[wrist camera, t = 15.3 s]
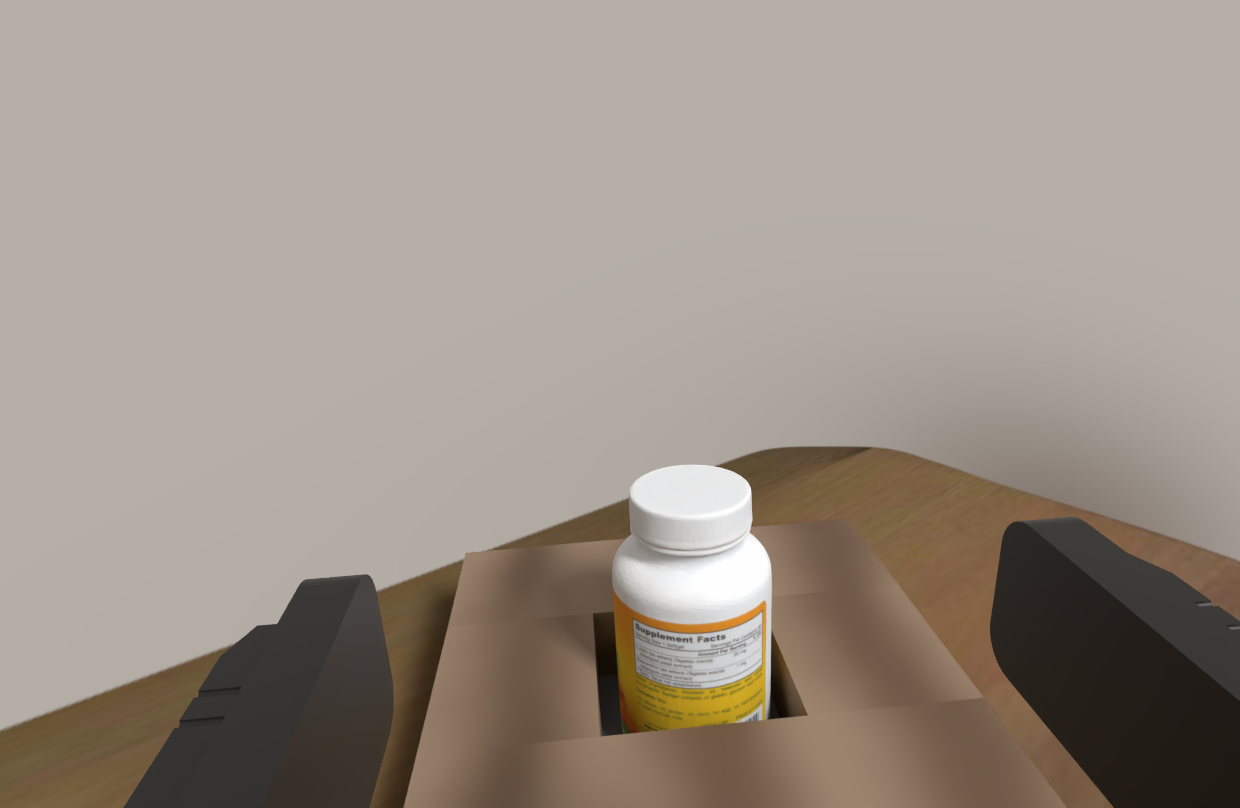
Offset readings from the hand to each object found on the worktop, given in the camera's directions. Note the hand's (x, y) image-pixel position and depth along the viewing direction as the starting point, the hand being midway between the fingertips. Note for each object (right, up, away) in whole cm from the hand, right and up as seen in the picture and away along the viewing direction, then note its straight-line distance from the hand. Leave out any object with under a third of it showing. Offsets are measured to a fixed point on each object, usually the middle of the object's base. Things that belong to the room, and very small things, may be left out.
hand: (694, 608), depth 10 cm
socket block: (+2, -10, +19) cm, 21 cm away
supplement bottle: (+2, -10, +18) cm, 21 cm away
